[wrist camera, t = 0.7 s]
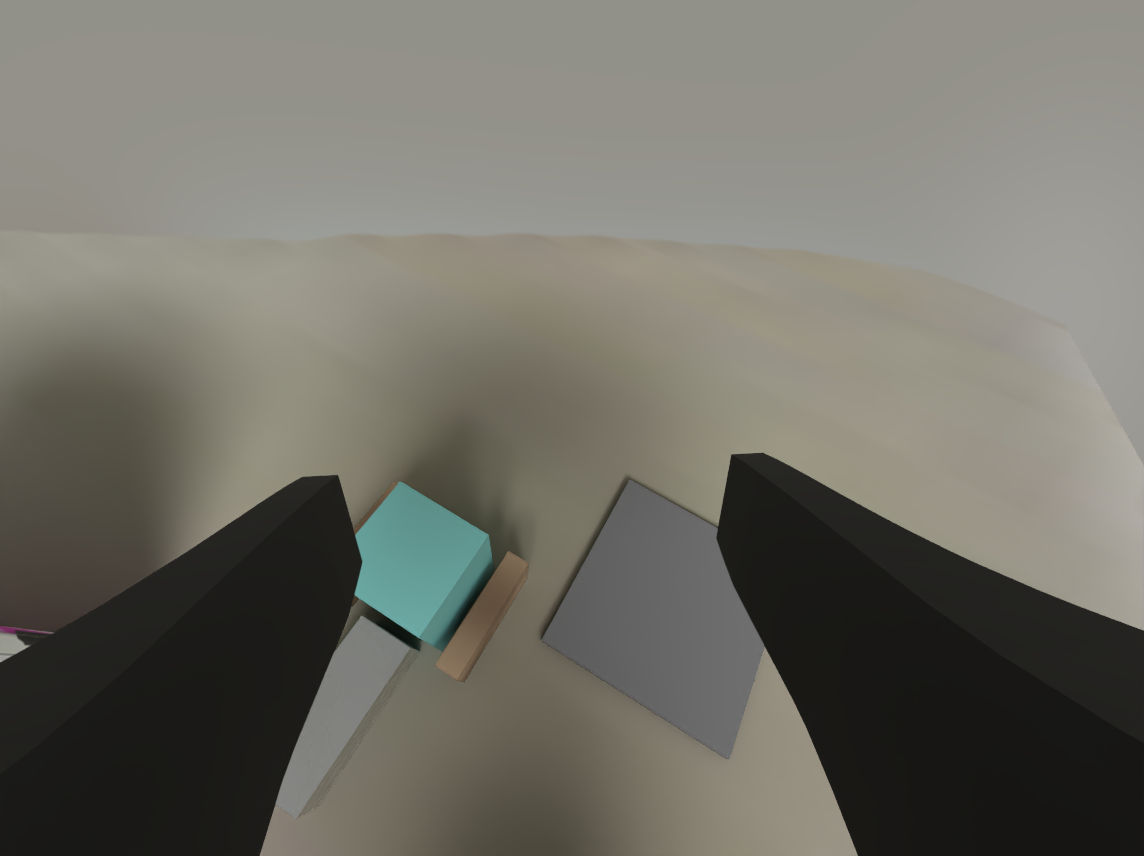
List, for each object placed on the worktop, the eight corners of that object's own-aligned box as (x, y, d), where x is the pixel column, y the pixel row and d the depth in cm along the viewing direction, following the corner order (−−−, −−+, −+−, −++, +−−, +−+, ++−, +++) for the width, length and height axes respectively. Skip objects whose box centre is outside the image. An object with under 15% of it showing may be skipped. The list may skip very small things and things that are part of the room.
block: (442, 651, 21) (418, 638, 15) (369, 602, 21) (322, 573, 16) (494, 571, 23) (488, 535, 17) (425, 528, 23) (400, 480, 18)
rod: (320, 804, 18) (295, 819, 16) (271, 768, 18) (240, 777, 16) (420, 652, 21) (410, 647, 19) (376, 623, 21) (361, 615, 19)
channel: (464, 682, 20) (456, 680, 18) (335, 594, 21) (309, 581, 19) (526, 577, 23) (528, 563, 20) (407, 504, 24) (394, 481, 21)
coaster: (725, 758, 20) (729, 759, 19) (541, 640, 21) (541, 639, 21) (785, 569, 24) (789, 567, 24) (628, 482, 25) (629, 479, 25)
